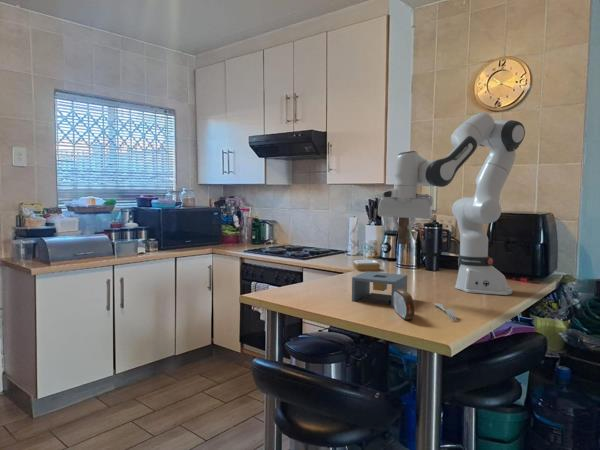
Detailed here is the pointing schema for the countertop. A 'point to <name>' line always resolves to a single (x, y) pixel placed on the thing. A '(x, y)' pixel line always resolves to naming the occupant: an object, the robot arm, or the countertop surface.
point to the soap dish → (366, 265)
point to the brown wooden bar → (403, 230)
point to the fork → (446, 311)
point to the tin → (403, 304)
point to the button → (379, 286)
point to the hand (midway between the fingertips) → (403, 229)
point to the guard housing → (363, 282)
